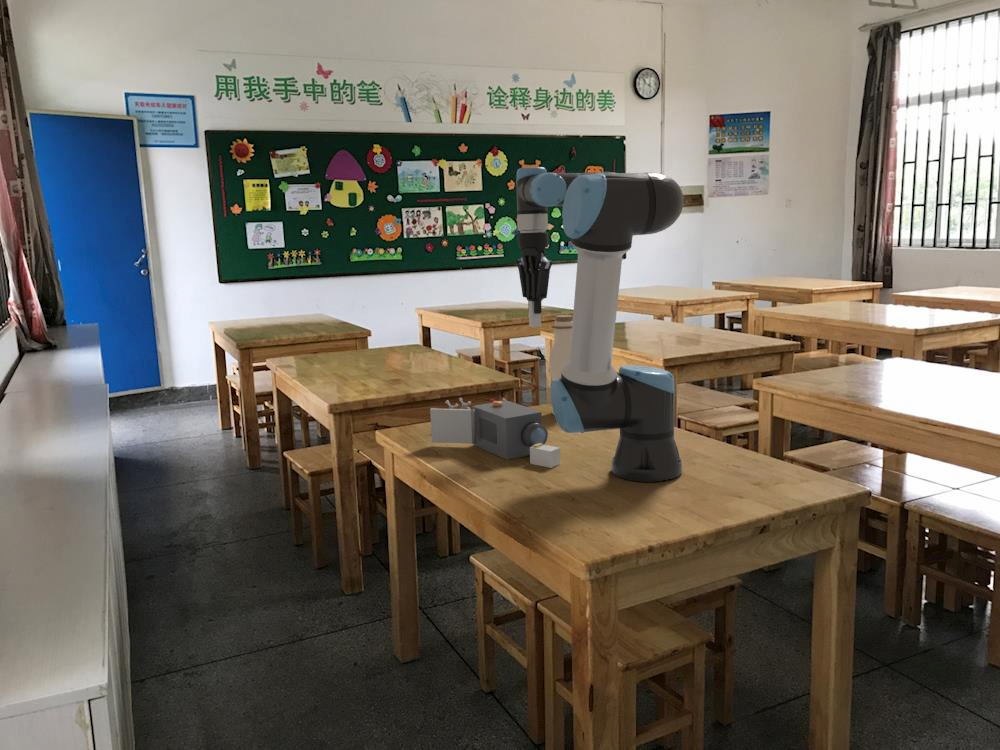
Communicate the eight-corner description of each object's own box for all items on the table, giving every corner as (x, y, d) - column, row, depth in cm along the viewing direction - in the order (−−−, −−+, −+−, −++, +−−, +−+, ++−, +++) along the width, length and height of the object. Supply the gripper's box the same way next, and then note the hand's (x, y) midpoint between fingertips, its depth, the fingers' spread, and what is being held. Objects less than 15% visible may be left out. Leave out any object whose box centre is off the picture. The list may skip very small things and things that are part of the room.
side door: (431, 442, 204) (429, 409, 202) (434, 440, 206) (432, 407, 204) (475, 444, 201) (474, 410, 199) (478, 441, 203) (476, 408, 201)
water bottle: (564, 407, 241) (562, 312, 236) (589, 410, 235) (588, 314, 230) (543, 414, 233) (541, 316, 228) (569, 418, 227) (568, 318, 222)
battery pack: (560, 464, 186) (560, 446, 185) (551, 468, 184) (550, 449, 183) (539, 460, 190) (539, 442, 189) (530, 464, 187) (529, 445, 187)
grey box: (549, 455, 193) (548, 410, 191) (513, 462, 188) (511, 416, 186) (507, 438, 209) (506, 396, 207) (473, 444, 204) (471, 402, 202)
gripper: (560, 231, 198) (562, 327, 202) (531, 231, 209) (533, 322, 213) (534, 232, 194) (537, 330, 199) (506, 232, 205) (509, 325, 210)
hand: (535, 326), depth 206 cm, fingers closed
